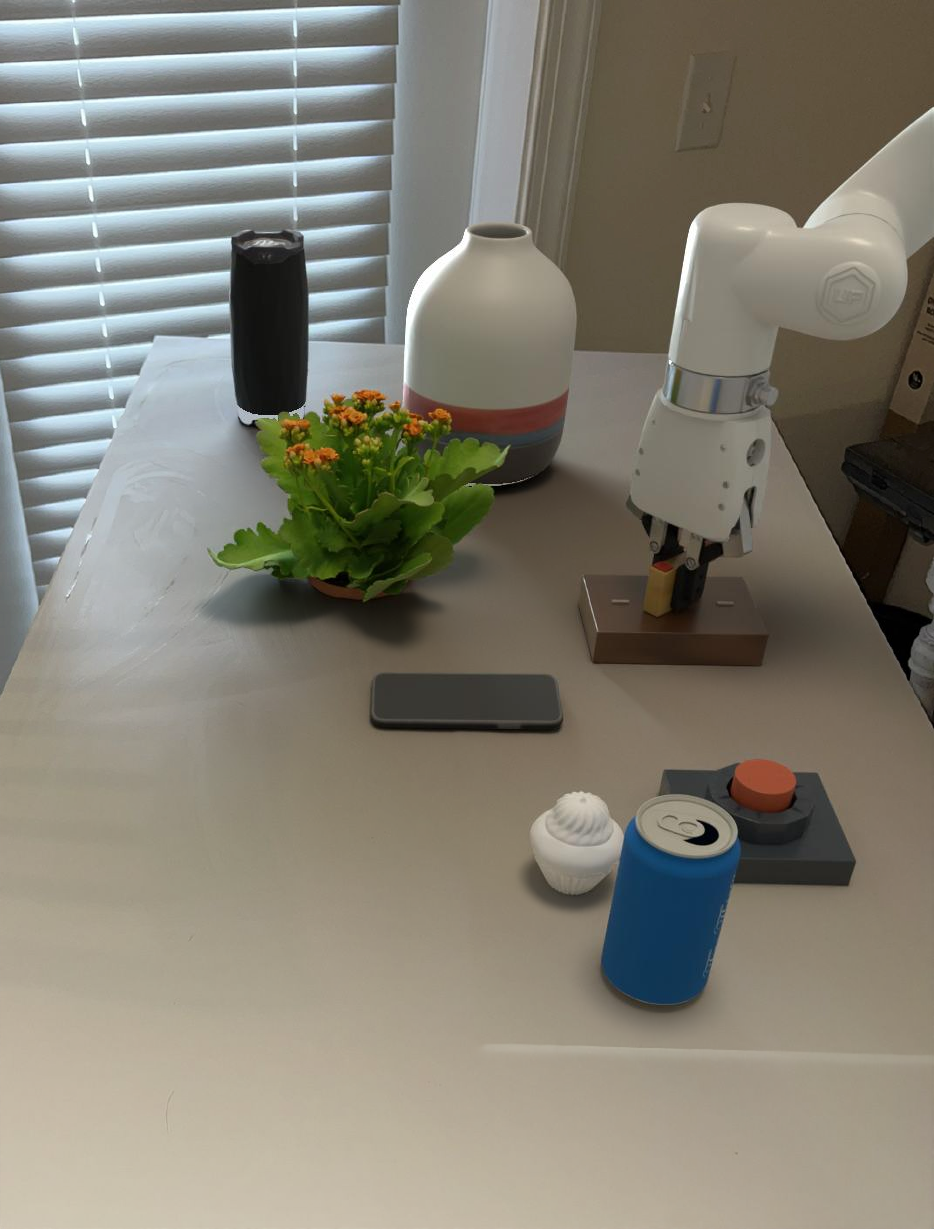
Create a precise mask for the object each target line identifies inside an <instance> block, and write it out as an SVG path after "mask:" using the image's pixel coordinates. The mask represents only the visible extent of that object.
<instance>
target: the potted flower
mask: <svg viewBox="0 0 934 1229" xmlns="http://www.w3.org/2000/svg"><path fill="white" fill-rule="evenodd" d="M329 396H330V397H331V398H330V399H331V400H332V402H333V403H332V402H330V400H329V399H328V398H324V400H323V405H324V407H323V408H322V413H323V415H322V416H320V415H318V413H316V412H315V411H311V410H310V411H308V412H307V413H306V414H304V419H300V417H299V415H298V414H297V413H295V414H293V416H290V414H289V413H288V412H281V413H280V414H279V415H278V421H277V420H276V419H275V418H273V419H269V418H257V421H254V424H255V426H256V427H257V428H258V429H259V431H257V433H256V436H255V439H256V442H257V444H258V445H259V446H260V448H259V450H260V453H262V454H263V455H265V456H267V457H265V458H263V459H262V460H261V461H260V467H261V468H262V470H263V471H264V472H265V473H266V474H268V477H269V478H271V479H274V480H275V479H276V481H275V484H276V486H277V487H278V488H279V489H281V490H282V491H283V492H284V493H285V494H289V497H287V501H286V505H287V510H288V512H289V515H290V516H291V518H287V517H283V519H282V523H281V524H280V526H279V528H278V530H277V533H276V532H275V531H274V530H272V528H270V527H267V525H266V524H265V523H264V522H262V521H258V522H257V523H256V527H255V528H256V529H255V531H254V530H253V529H252V528H251V527H249V526H247V527H246V529H245V528H239V529H236V531H234V533H233V541H234V543H231V542H230V543H226V544H225V545H224V546H223V549H222V550H220V551H219V552H218V553H217V555H216V554H215V553H214V551H212V550H211V548H210V547H207V548H206V549H207V553H208V555H209V557H211V560H212V561H213V562H214V564H215V565H216V566H217V567H220V568H223V567H224V568H225V569H227V570H229V571H233V570H238V569H241V568H244V569H247V570H248V569H249V570H251V571H253V572H259V571H262V570H264V569H265V570H266V571H269V569H271V568H272V571H271V572H270V576H271V577H273V578H274V579H275V578H276V579H279V580H285V579H290V580H291V579H295V580H305V579H307V580H308V582H309V583H310V585H311V586H313V587H314V588H315V589H317V591H318V592H321V593H323V594H325V595H327V596H329V597H333V598H338V599H339V598H342V599H349V600H357V601H362V602H363V603H365V602H367V601H369V600H371V599H378V598H382V597H387V596H391V595H392V596H394V595H397V594H399V593H400V592H402V590H403V588H405V587H407V585H408V582H409V581H413V580H419V579H424V578H428V577H430V576H434V575H436V574H439V573H440V572H442V571H444V570H446V569H447V568H448V567H449V565H450V564H451V563H453V561H454V560H455V556H453V554H454V553H455V551H454V546H455V545H457V544H459V543H460V542H461V541H462V540H463V539H464V538H465V537H466V536H467V535H469V534H470V533H471V532H472V531H473V530H474V529H475V528H476V527H477V526H478V525H479V524H480V523H482V522H483V521H484V518H486V516H487V515H488V514H489V513H490V512H491V510H492V506H494V503H495V499H496V498H495V495H494V494H495V490H494V487H490V486H488V485H483V484H481V483H480V484H475V485H473V486H472V487H469V486H464V485H466V484H468V483H469V482H471V481H473V480H475V479H477V478H479V477H481V476H482V475H484V474H486V473H488V472H490V471H492V470H494V469H496V468H498V467H500V466H502V465H503V463H504V462H505V461H504V460H505V457H506V455H507V453H508V449H509V448H510V446H511V445H509V446H507V447H506V448H505V450H504V451H503V452H502V449H500V450H499V448H498V447H497V446H496V445H495V444H492V443H488V442H485V443H484V444H482V446H481V447H479V441H478V440H477V439H474V438H467V439H465V440H464V442H463V443H462V444H461V442H460V440H459V439H452V440H451V441H450V442H449V444H448V447H447V446H446V447H445V449H444V451H443V456H442V457H441V455H440V453H439V452H438V451H437V450H435V447H436V443H437V441H438V440H439V439H440V438H441V437H442V435H444V434H450V432H449V431H450V430H451V428H450V423H451V422H452V419H451V416H450V413H447V411H443V409H436V410H435V412H433V413H430V412H429V413H428V415H429V417H431V418H433V419H434V421H432V422H431V423H430V424H428V422H427V421H423V419H424V418H423V417H422V416H421V415H417V414H413V413H409V410H406V408H403V407H402V401H401V400H396V401H394V403H391V404H390V403H388V404H387V406H388V408H389V409H390V410H391V412H389V411H386V406H385V402H383V401H386V400H387V399H388V397H387V396H385V394H384V393H383V394H382V393H381V392H380V391H378V390H377V391H376V390H375V389H373V390H369V389H361V390H360V391H358V390H357V391H354V392H353V393H352V394H351V396H350V398H346V397H347V396H346V395H343V394H337V393H335V394H333V393H332V394H330V395H329ZM345 398H346V399H345ZM378 413H381V414H380V415H377V414H378ZM376 415H377V416H376ZM321 420H322V422H321ZM391 430H392V432H391V435H390V433H388V432H390V431H391ZM386 432H387V433H386ZM424 432H426V433H430V435H429V437H430V438H431V440H433V441H434V443H433V446H432V449H431V450H430V449H428V450H427V451H426V453H425V455H424V457H423V460H422V461H423V462H422V464H421V458H420V457H419V455H418V452H417V451H418V450H419V447H417V448H416V449H414V446H415V445H416V444H417V443H420V442H422V441H424V440H426V439H425V437H426V433H425V434H423V433H424ZM438 433H439V436H438ZM435 435H436V436H435ZM437 437H438V438H437ZM401 442H402V444H404V445H405V446H402V448H400V449H399V450H398V448H399V445H400V443H401ZM406 444H407V446H406ZM397 450H398V451H397ZM396 452H397V453H396ZM501 452H502V453H501Z"/></svg>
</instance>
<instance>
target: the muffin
mask: <svg viewBox="0 0 934 1229" xmlns="http://www.w3.org/2000/svg"><path fill="white" fill-rule="evenodd" d="M624 835H625V834H624V832H623V830H622V828H621V826H620V825H619V824H618V823H617V822H616V821H615V820H614V819H613V818H612V817H611V815H610V811H609V807H608V805H607V804H606V802H605V801H604V800H602V798H601V797H600V796H598V795H595V794H593V793H592V792H584V791H582V790H581V791H579V792H577V791H572V792H571V793H565V794H564V795H563V796H562V797H559V799H557V800H556V804H555V805H554V806H553V807H552V808H551V809H548V810H546V811H545V812H543V813H541V814H540V815H539V816H538V817H537V818H536V819H535V821H534V822H533V823H532V825H531V827H530V831H529V840H530V845H531V847H532V854H533V856H534V860H535V861H536V863H537V865H538V867H539V869H540V871H541V873H542V875H543V876H544V878H545V880H546V882H547V884H548V885H549V886H550V887H551V888H552V889H554V890H555V891H558V892H559V893H562V894H564V895H570V896H574V895H576V896H578V895H583V894H586V893H589V892H590V891H591V890H593V889H594V888H595V887H596V886H597V885H598V884H599V883H600V882H601V881H602V880H603V879H605V877H607V876H608V874H610V873H611V872H612V871H613V868H615V867H616V864H617V863H619V861H620V856H621V851H622V845H623V840H624Z"/></svg>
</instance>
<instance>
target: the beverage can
mask: <svg viewBox="0 0 934 1229" xmlns="http://www.w3.org/2000/svg"><path fill="white" fill-rule="evenodd" d="M737 834H738V830H737V825H736V823H735V821H734V820H733V818H732V817H731V816H730V815H729V813H727V812H726V811H725V810H724V809H722V808H721V807H719V806H718V805H716V804H714V803H712V802H710V801H707V800H705V799H702V798H698V797H694V796H689V795H679V794H672V795H663V796H659V795H658V796H655V797H653V798H650V799H648V800H646V801H645V802H644V803H642V804H641V805H640V806H639V807H638V809H637V811H636V815H635V816H633V817H632V818H631V819H630V820H629V822H628V824H627V826H626V828H625V831H624V834H623V835H624V840H623V845H622V851H621V856H620V859H619V860H618V867H617V872H616V877H615V882H614V889H613V893H612V899H611V904H610V909H609V914H608V920H607V925H606V931H605V935H604V940H603V947H602V952H601V958H600V963H601V968H602V971H603V974H604V976H605V977H606V979H607V980H608V981H609V983H611V985H612V986H613V987H615V988H616V989H617V990H618V991H620V993H623V994H624V995H626V996H628V997H630V998H631V999H634V1000H636V1001H639V1002H642V1003H646V1004H650V1005H657V1006H658V1005H659V1006H667V1005H668V1006H672V1005H679V1004H682V1003H685V1002H688V1001H690V1000H693V999H695V998H696V997H697V996H699V995H700V994H701V993H702V992H703V990H704V989H705V988H706V986H707V984H708V981H709V978H710V973H711V970H712V965H713V962H714V957H715V954H716V951H717V947H718V943H719V938H720V934H721V932H722V927H723V923H724V920H725V916H726V912H727V909H728V908H727V907H728V905H729V901H730V897H731V893H732V889H733V885H734V883H733V882H734V878H735V874H736V870H737V866H738V863H739V859H740V854H741V847H740V842H739V839H738V837H737Z"/></svg>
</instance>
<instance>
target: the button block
mask: <svg viewBox="0 0 934 1229" xmlns="http://www.w3.org/2000/svg"><path fill="white" fill-rule="evenodd" d="M741 763H742V762H735V763H732V764H730V765H727V766H724V767H721V768H718V769H715V770H714V769H713V770H712V769H711V770H710V769H709V770H708V769H671V768H669V769H668V768H667V769H665V768H664V769H663V770H662V776H661V781H660V785H659V790H658V796H663V795H672V794H679V795H689V796H694V797H698V798H702V799H705V800H707V801H710V802H712V803H714V804H716V805H718V806H719V807H721V808H722V809H724V810H725V811H726V812H727V813H729V815H730V816H731V817H732V818H733V820H734V821H735V823H736V825H737V830H738V834H737V837H738V839H739V842H740V847H741V854H740V859H739V863H738V866H737V870H736V874H735V878H734V882H733V884H755V885H756V884H759V885H760V884H761V885H797V886H800V885H803V886H841V887H842V886H843V887H844V886H846V887H848V886H849V885H850V882H851V879H852V876H853V873H854V870H855V867H856V864H857V859H856V857H855V855H854V852H853V850H852V848H851V845H850V844H849V841H848V838H847V836H846V834H845V832H844V830H843V827H842V825H841V823H840V821H839V818H838V815H837V813H836V812H835V809H834V807H833V804H832V803H831V800H830V797H829V796H828V793H827V791H826V788H825V787H824V784H823V782H822V779H821V777H820V775H819V773H818V772H816V771H815V772H813V771H810V772H807V771H804V772H803V771H792V772H793V774H794V775H795V778H796V786H795V789H794V793H793V796H792V800H791V803H790V806H789V807H788V808H787V809H786V810H784V811H782V812H779V813H760V812H756V811H753V810H750V809H747V808H744V807H742V806H740V805H739V804H738V803H737V802H735V801H734V800H733V799H732V797H731V794H730V790H731V786H732V782H733V777H734V773H735V769H736V767H737V766H738V765H739V764H741Z"/></svg>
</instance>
